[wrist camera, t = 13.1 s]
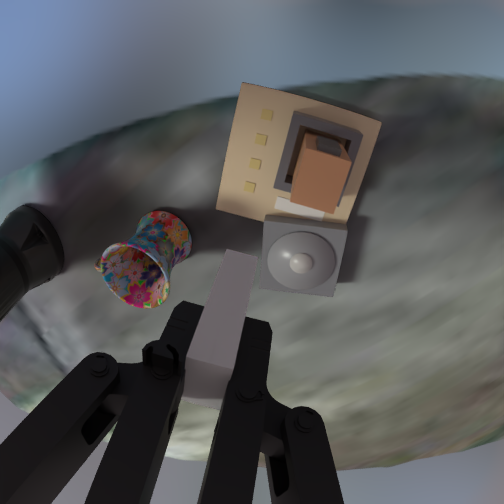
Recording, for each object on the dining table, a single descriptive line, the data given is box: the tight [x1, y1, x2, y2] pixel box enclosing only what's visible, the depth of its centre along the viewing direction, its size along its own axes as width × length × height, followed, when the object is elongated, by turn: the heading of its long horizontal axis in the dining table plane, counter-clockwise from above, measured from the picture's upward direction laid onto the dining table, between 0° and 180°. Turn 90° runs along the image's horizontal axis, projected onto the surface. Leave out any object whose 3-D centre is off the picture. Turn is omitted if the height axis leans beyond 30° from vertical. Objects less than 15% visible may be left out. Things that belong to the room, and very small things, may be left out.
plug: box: [290, 129, 352, 214], centre depth 30 cm, size 4×6×10 cm
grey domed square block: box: [259, 215, 348, 297], centre depth 41 cm, size 10×10×4 cm
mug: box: [95, 211, 192, 308], centre depth 41 cm, size 12×9×11 cm
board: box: [216, 82, 382, 224], centre depth 35 cm, size 16×16×4 cm
